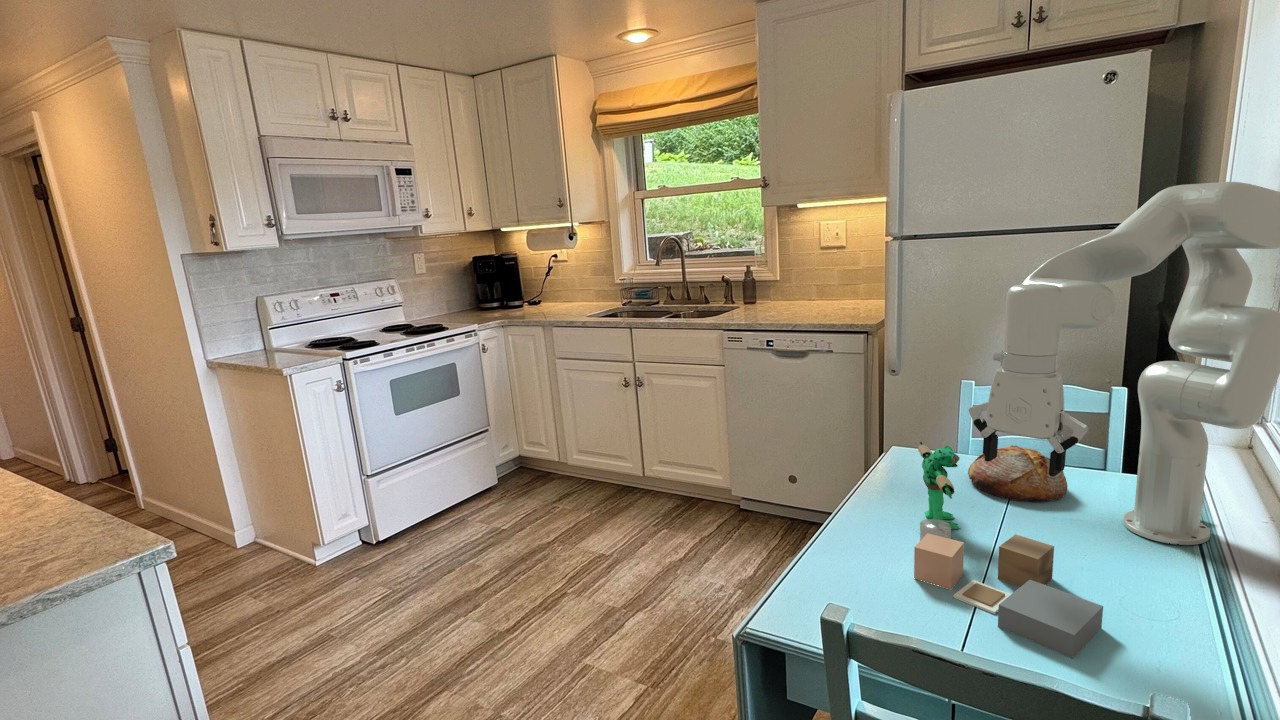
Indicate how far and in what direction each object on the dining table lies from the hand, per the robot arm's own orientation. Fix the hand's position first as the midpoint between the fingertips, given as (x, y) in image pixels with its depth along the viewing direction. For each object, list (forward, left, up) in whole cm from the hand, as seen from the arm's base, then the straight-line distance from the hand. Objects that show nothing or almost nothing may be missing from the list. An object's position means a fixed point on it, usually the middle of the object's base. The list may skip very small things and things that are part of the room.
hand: (1021, 466), depth 108 cm
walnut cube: (0, +1, -20) cm, 20 cm away
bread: (-36, -16, -20) cm, 44 cm away
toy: (-10, -19, -20) cm, 29 cm away
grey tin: (+3, -13, -19) cm, 23 cm away
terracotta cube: (+9, -9, -20) cm, 23 cm away
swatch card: (+10, -1, -19) cm, 22 cm away
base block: (+11, +9, -20) cm, 25 cm away
